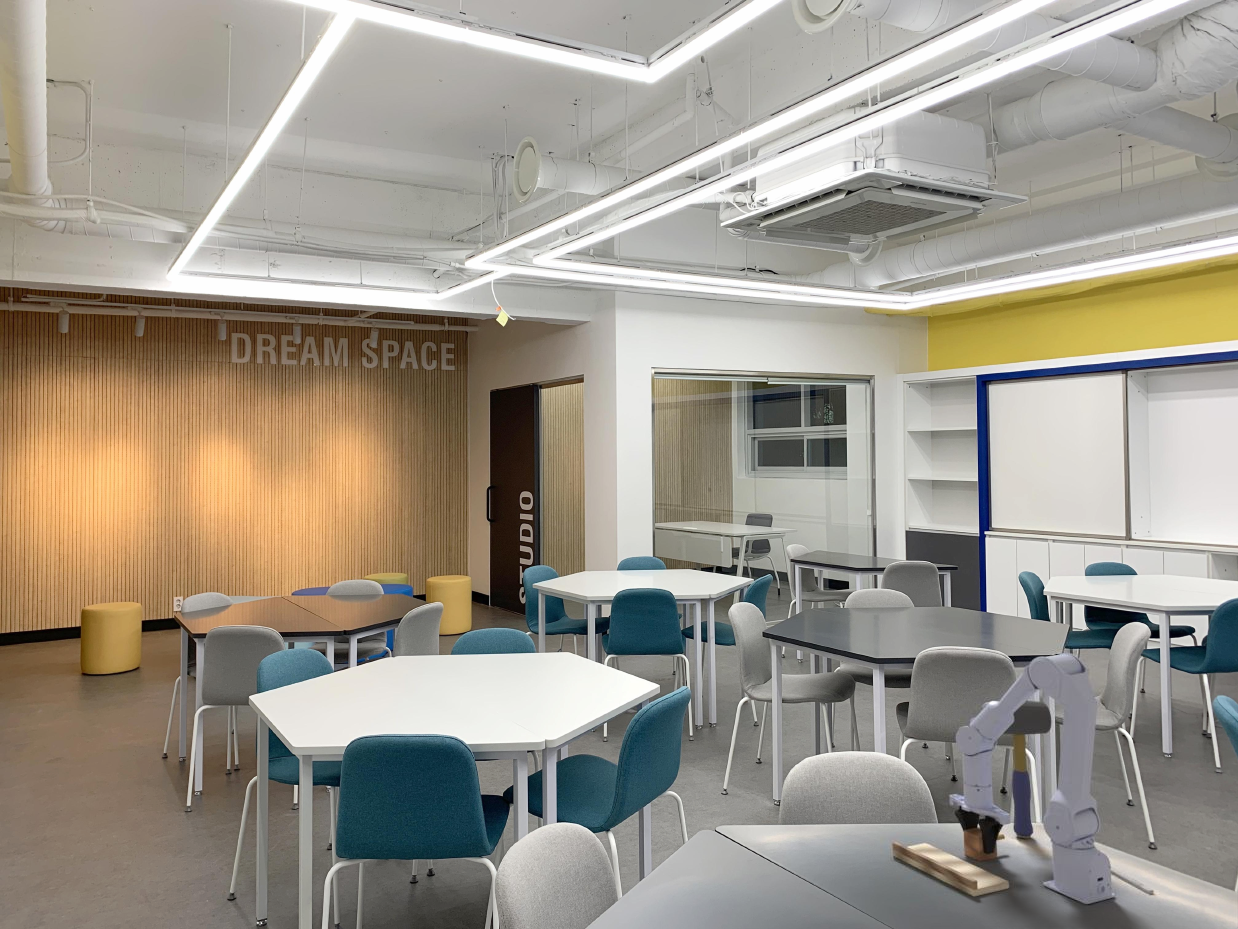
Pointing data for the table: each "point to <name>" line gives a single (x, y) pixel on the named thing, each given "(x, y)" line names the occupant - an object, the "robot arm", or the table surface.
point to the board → (950, 869)
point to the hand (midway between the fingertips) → (980, 849)
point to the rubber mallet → (1026, 721)
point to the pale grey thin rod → (1131, 881)
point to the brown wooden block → (977, 845)
